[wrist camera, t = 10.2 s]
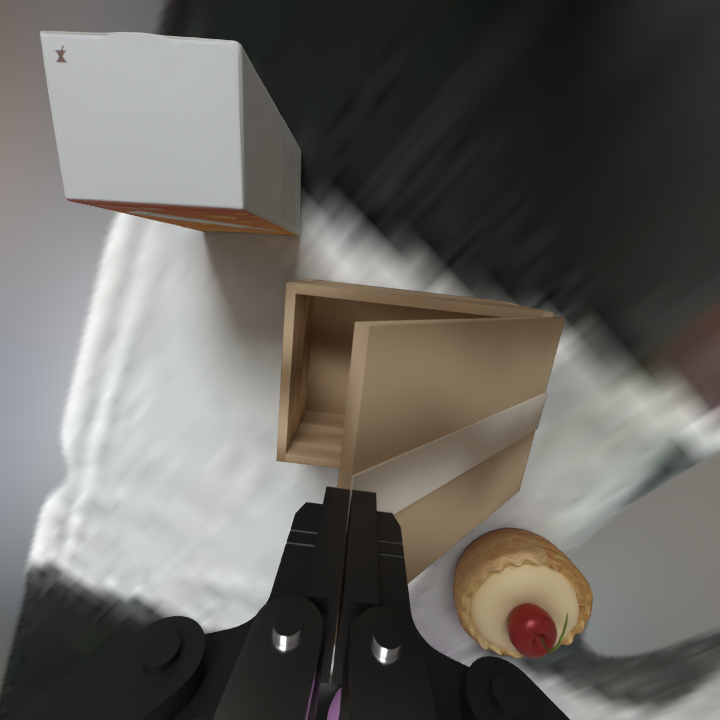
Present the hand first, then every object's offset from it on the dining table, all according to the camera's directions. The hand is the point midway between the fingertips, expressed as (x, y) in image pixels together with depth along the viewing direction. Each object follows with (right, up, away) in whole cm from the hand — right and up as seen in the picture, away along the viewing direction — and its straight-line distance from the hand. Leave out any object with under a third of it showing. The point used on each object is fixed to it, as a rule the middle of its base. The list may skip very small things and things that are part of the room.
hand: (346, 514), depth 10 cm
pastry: (+15, -16, +25) cm, 33 cm away
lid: (+5, +1, +6) cm, 8 cm away
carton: (+4, +5, +19) cm, 20 cm away
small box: (-8, +18, +16) cm, 25 cm away
